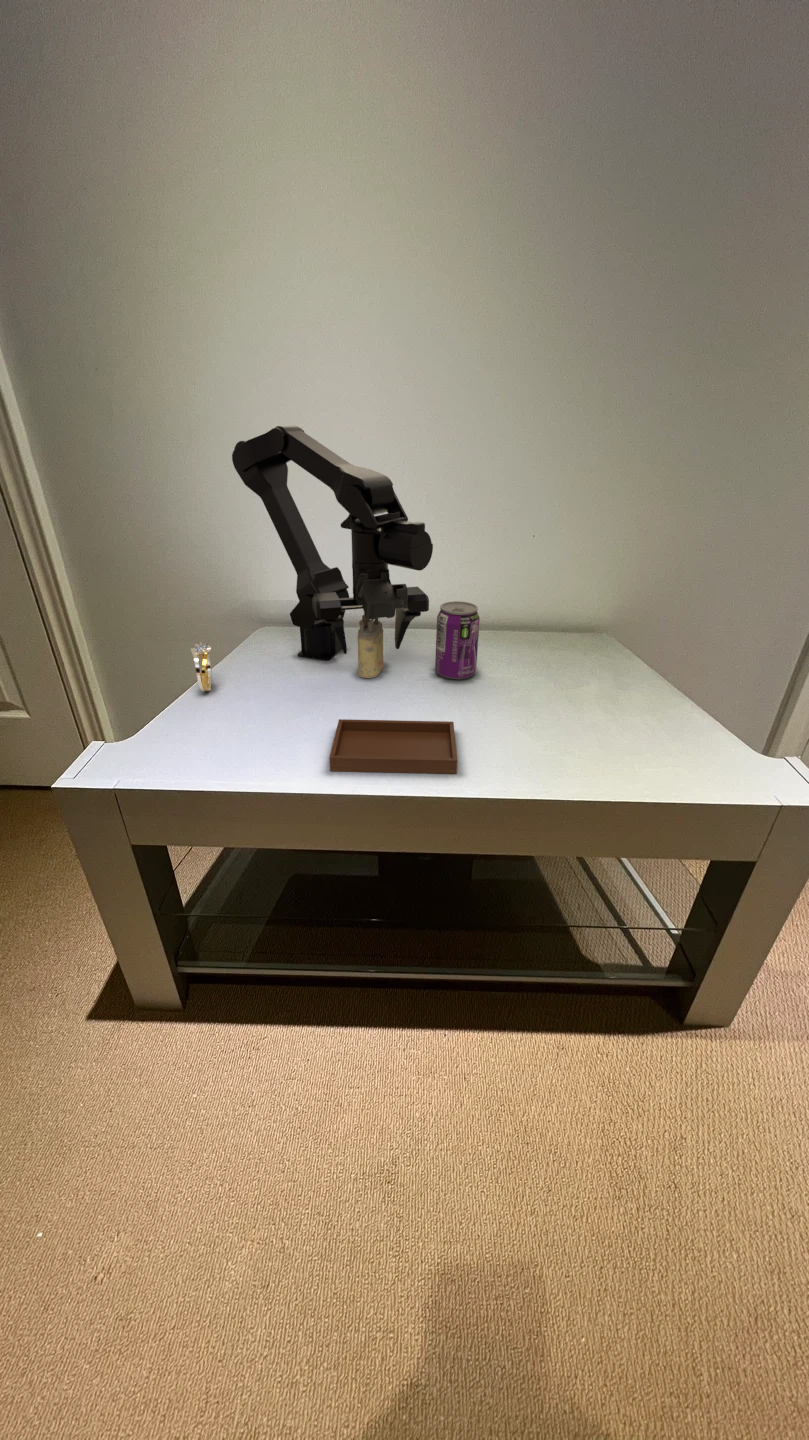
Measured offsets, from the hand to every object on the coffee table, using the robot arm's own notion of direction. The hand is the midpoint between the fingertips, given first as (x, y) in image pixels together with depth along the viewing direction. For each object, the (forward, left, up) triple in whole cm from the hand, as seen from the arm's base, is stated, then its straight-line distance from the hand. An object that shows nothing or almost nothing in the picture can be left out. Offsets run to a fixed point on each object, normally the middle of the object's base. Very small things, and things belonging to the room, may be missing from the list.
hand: (371, 650), depth 102 cm
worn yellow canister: (0, 0, -4) cm, 4 cm away
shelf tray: (+13, -24, -4) cm, 28 cm away
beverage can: (+14, +4, -4) cm, 15 cm away
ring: (-22, -17, -4) cm, 28 cm away
